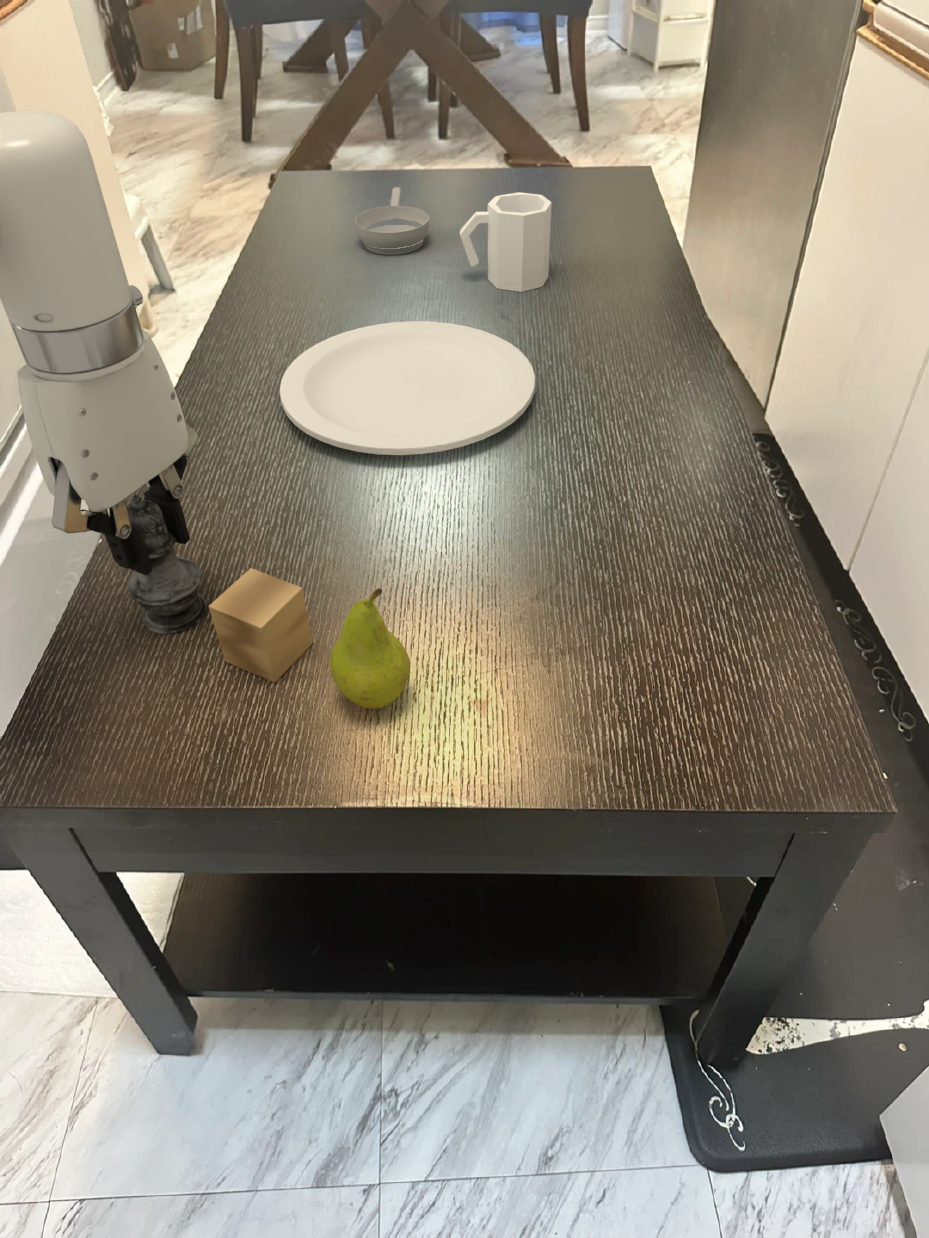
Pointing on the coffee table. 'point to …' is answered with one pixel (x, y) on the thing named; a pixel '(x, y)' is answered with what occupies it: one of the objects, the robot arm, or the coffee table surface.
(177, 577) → the grey chess bishop
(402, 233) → the small pan
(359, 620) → the fruit
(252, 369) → the coffee table surface
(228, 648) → the maple block
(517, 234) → the mug
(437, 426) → the plate
